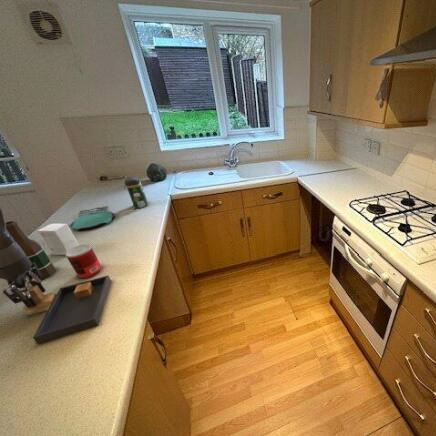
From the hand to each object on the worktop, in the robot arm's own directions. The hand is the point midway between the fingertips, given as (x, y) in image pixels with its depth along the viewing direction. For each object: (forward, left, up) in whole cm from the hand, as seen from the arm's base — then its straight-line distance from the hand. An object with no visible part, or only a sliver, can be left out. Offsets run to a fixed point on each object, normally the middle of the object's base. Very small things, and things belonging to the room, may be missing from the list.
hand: (37, 299), depth 79 cm
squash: (+32, +130, -4) cm, 134 cm away
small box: (-4, +38, -4) cm, 38 cm away
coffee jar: (+23, +79, -4) cm, 82 cm away
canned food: (+10, +15, -4) cm, 19 cm away
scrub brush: (0, 0, -4) cm, 4 cm away
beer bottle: (-7, +22, -4) cm, 23 cm away
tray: (+11, -6, -4) cm, 14 cm away
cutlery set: (0, +71, -4) cm, 71 cm away
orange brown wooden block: (+12, +1, -4) cm, 12 cm away
